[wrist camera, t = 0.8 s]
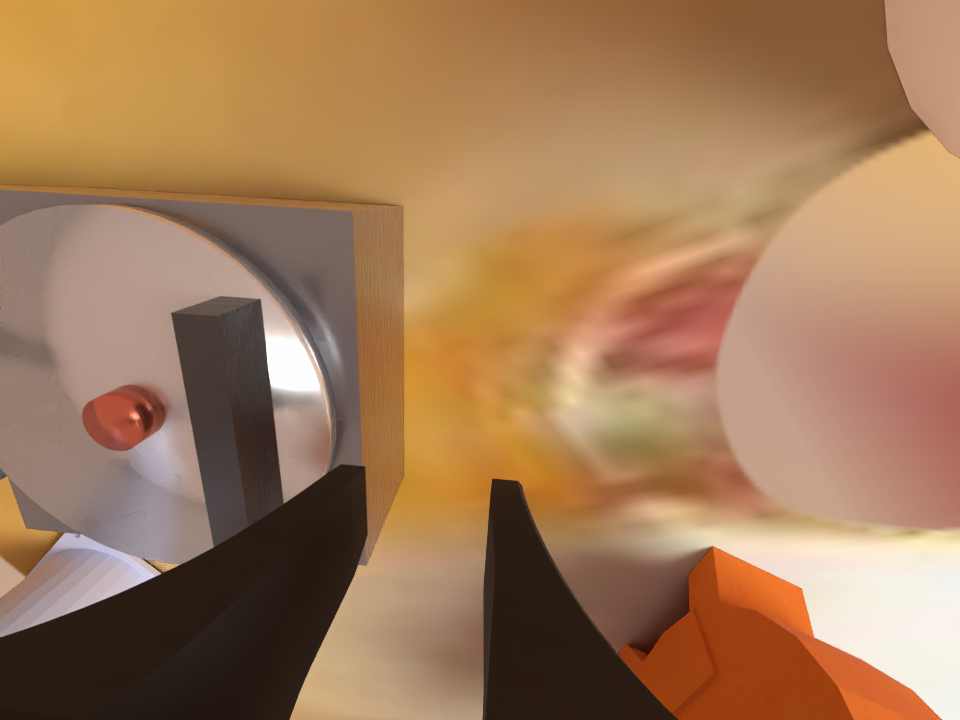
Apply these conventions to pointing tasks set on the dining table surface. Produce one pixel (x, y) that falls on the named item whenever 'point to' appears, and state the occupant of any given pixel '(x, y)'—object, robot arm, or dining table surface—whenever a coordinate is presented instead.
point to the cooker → (300, 308)
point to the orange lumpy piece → (760, 657)
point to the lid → (153, 381)
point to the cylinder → (928, 62)
